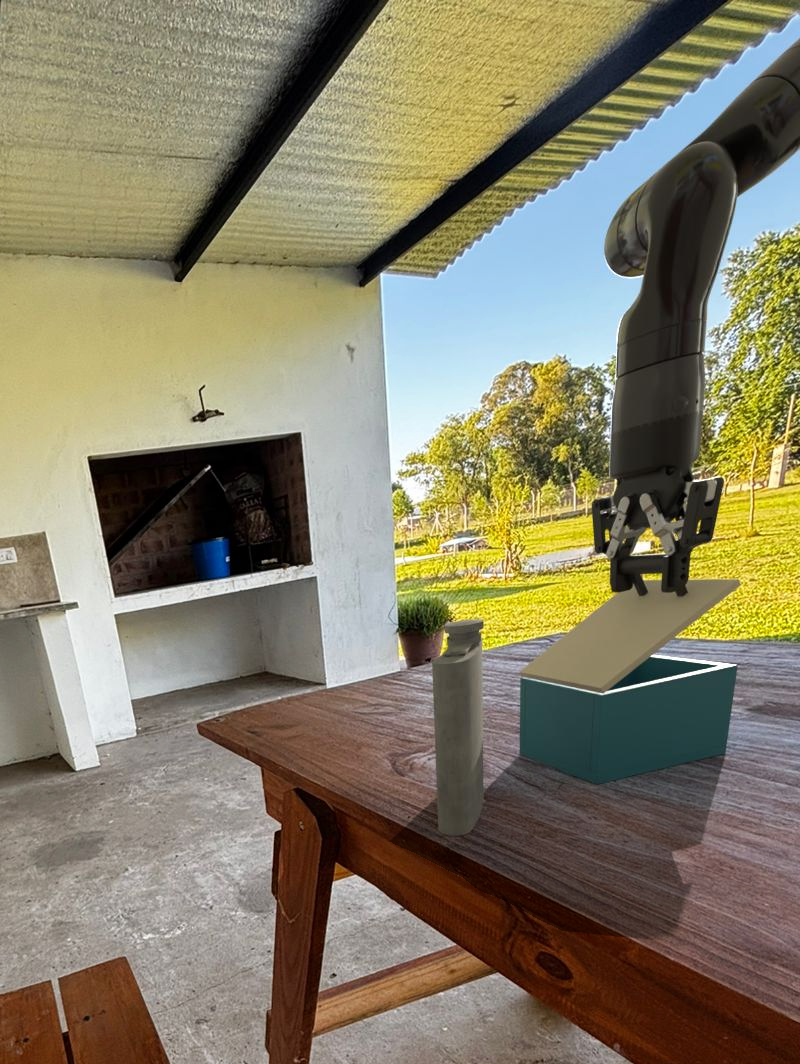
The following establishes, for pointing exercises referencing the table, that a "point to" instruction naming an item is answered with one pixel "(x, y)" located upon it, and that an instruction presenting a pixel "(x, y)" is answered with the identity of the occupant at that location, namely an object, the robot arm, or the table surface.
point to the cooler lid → (626, 628)
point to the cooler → (630, 719)
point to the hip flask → (459, 728)
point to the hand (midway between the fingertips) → (646, 590)
